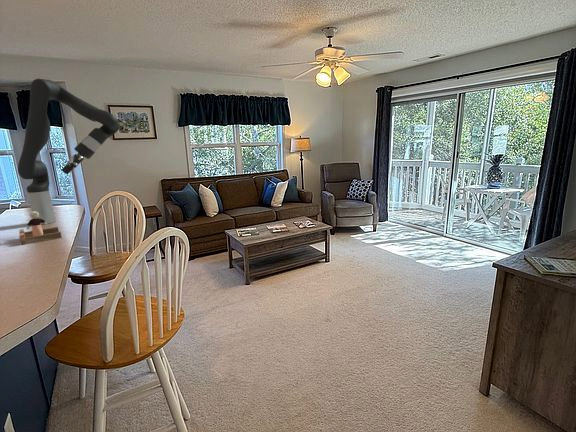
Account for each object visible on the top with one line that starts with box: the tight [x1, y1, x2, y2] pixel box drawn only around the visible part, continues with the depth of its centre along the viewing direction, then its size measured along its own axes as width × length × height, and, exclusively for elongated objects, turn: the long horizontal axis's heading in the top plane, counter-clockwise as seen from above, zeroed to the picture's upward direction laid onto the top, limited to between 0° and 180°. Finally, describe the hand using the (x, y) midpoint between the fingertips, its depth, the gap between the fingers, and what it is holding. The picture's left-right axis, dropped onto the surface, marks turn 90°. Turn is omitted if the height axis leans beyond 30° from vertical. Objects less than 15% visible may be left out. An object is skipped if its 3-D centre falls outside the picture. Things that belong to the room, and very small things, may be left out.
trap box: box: [18, 226, 63, 246], centre depth 141 cm, size 13×14×4 cm
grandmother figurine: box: [26, 210, 48, 236], centre depth 139 cm, size 8×4×13 cm, turn 160°
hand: (64, 172), depth 147 cm, fingers open, 8 cm apart
